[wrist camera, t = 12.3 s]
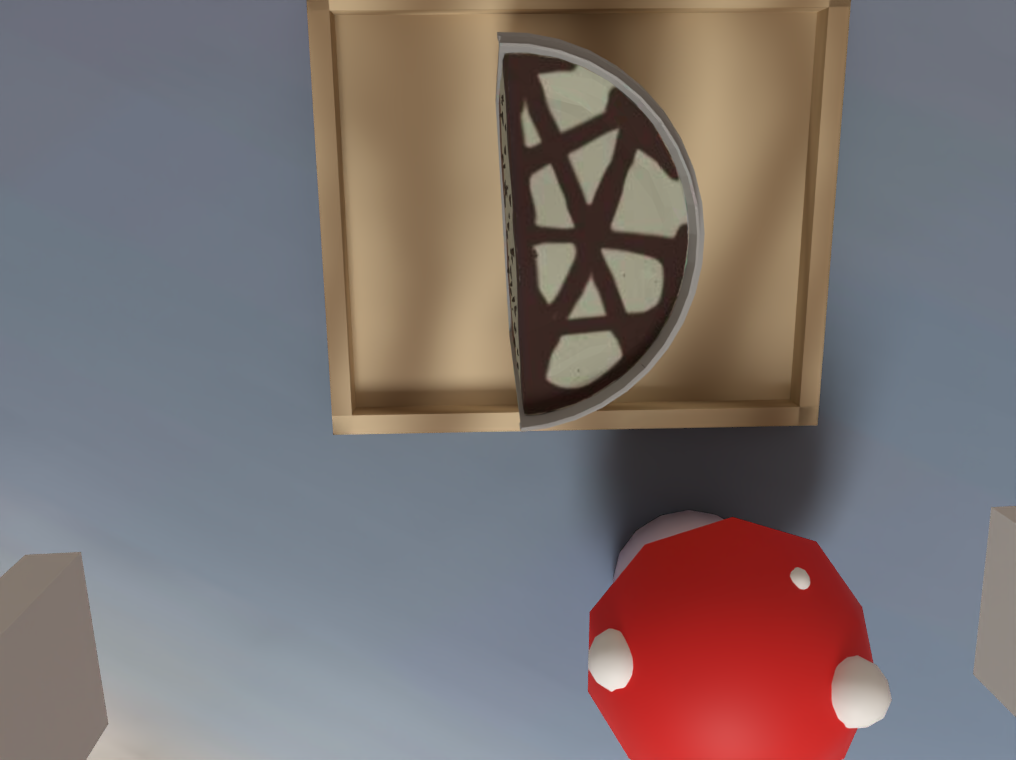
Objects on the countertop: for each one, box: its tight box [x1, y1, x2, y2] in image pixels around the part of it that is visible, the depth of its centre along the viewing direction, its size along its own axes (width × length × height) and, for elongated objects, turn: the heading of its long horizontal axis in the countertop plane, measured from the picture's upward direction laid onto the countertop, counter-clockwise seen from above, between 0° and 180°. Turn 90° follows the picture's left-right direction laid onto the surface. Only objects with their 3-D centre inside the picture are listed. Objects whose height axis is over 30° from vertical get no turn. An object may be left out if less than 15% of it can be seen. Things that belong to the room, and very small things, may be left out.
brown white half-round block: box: [495, 32, 705, 432], centre depth 31 cm, size 12×6×10 cm, turn 3°
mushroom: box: [588, 510, 892, 760], centre depth 35 cm, size 11×11×12 cm
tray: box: [307, 0, 851, 435], centre depth 36 cm, size 20×17×2 cm
